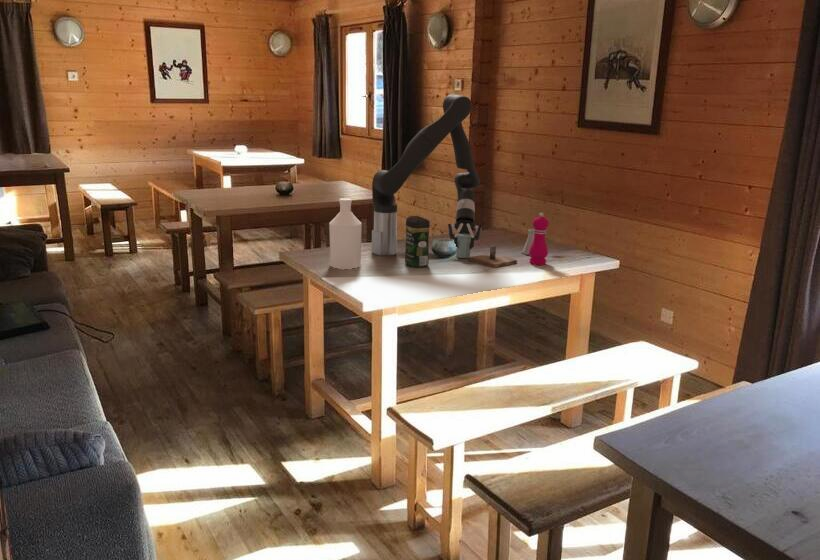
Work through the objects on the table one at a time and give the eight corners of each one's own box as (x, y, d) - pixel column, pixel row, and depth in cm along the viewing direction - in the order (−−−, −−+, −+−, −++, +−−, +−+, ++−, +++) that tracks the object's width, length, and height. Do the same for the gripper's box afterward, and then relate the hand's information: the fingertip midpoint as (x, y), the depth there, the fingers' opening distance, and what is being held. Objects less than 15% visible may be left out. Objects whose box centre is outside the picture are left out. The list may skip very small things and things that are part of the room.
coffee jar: (401, 262, 259) (402, 214, 254) (420, 261, 262) (421, 213, 258) (412, 268, 251) (413, 219, 246) (431, 267, 254) (433, 218, 249)
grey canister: (463, 258, 267) (464, 236, 265) (453, 256, 271) (454, 234, 269) (472, 257, 271) (473, 234, 268) (463, 254, 274) (464, 232, 272)
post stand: (494, 267, 255) (494, 251, 254) (467, 260, 266) (468, 245, 264) (516, 263, 263) (517, 247, 262) (490, 256, 274) (491, 241, 272)
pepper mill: (540, 260, 268) (544, 210, 263) (550, 264, 262) (554, 213, 257) (524, 261, 266) (528, 211, 260) (534, 266, 259) (538, 214, 254)
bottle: (359, 261, 259) (359, 196, 253) (363, 269, 248) (364, 201, 242) (328, 262, 257) (327, 196, 250) (331, 270, 246) (330, 201, 239)
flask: (540, 256, 277) (542, 232, 274) (522, 255, 277) (524, 231, 274) (537, 252, 284) (539, 228, 281) (520, 251, 284) (522, 228, 281)
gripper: (448, 206, 274) (445, 241, 265) (483, 207, 273) (482, 243, 264) (447, 217, 280) (445, 251, 272) (482, 218, 279) (481, 253, 271)
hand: (463, 247), depth 268 cm, fingers closed on grey canister, 5 cm apart
